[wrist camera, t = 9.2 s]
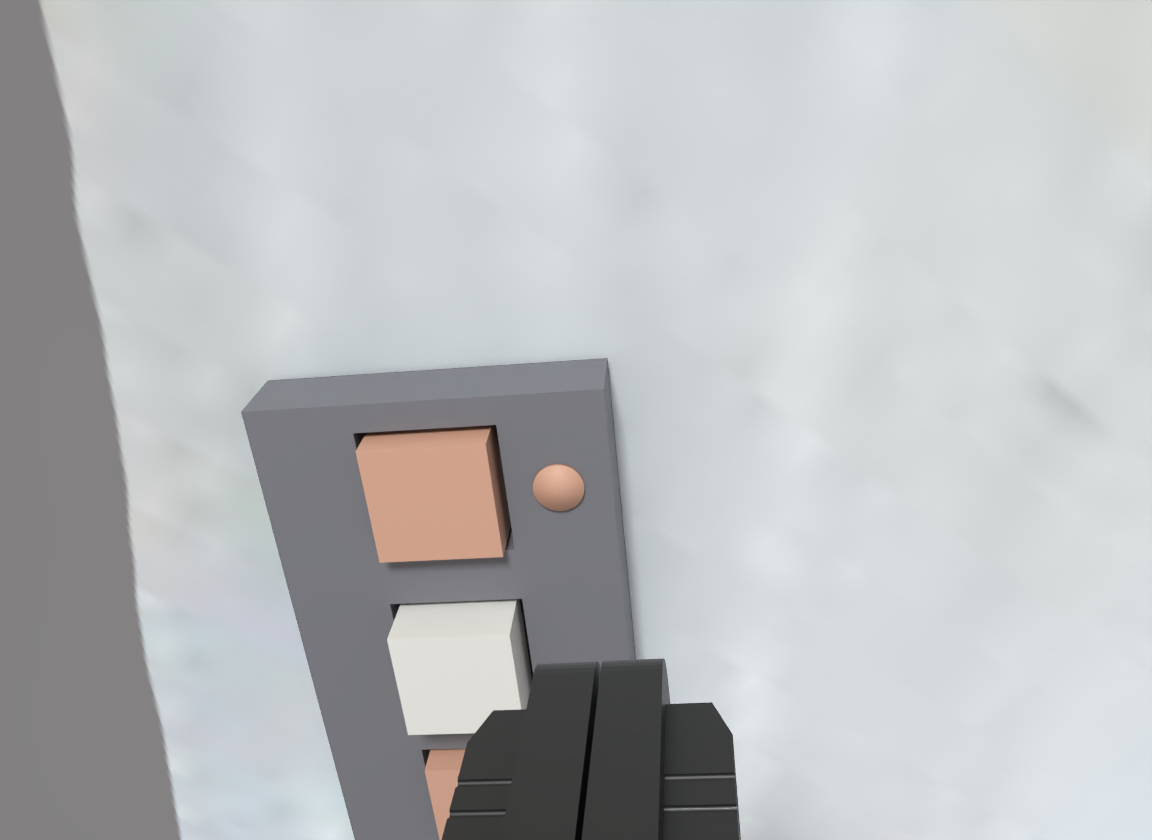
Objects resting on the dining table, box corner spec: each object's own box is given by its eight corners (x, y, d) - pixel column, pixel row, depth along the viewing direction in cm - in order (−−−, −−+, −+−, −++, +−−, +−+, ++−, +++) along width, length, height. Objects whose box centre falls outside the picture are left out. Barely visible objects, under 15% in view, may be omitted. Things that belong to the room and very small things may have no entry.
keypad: (607, 358, 41) (603, 391, 38) (649, 805, 51) (648, 858, 48) (267, 380, 42) (239, 413, 39) (375, 810, 52) (359, 861, 49)
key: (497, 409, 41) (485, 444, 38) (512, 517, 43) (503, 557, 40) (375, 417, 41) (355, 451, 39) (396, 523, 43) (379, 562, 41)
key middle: (518, 590, 43) (509, 635, 41) (532, 684, 45) (524, 732, 43) (403, 595, 44) (387, 639, 41) (422, 687, 46) (408, 735, 43)
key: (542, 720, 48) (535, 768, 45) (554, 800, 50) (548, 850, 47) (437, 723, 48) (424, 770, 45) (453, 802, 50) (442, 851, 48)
